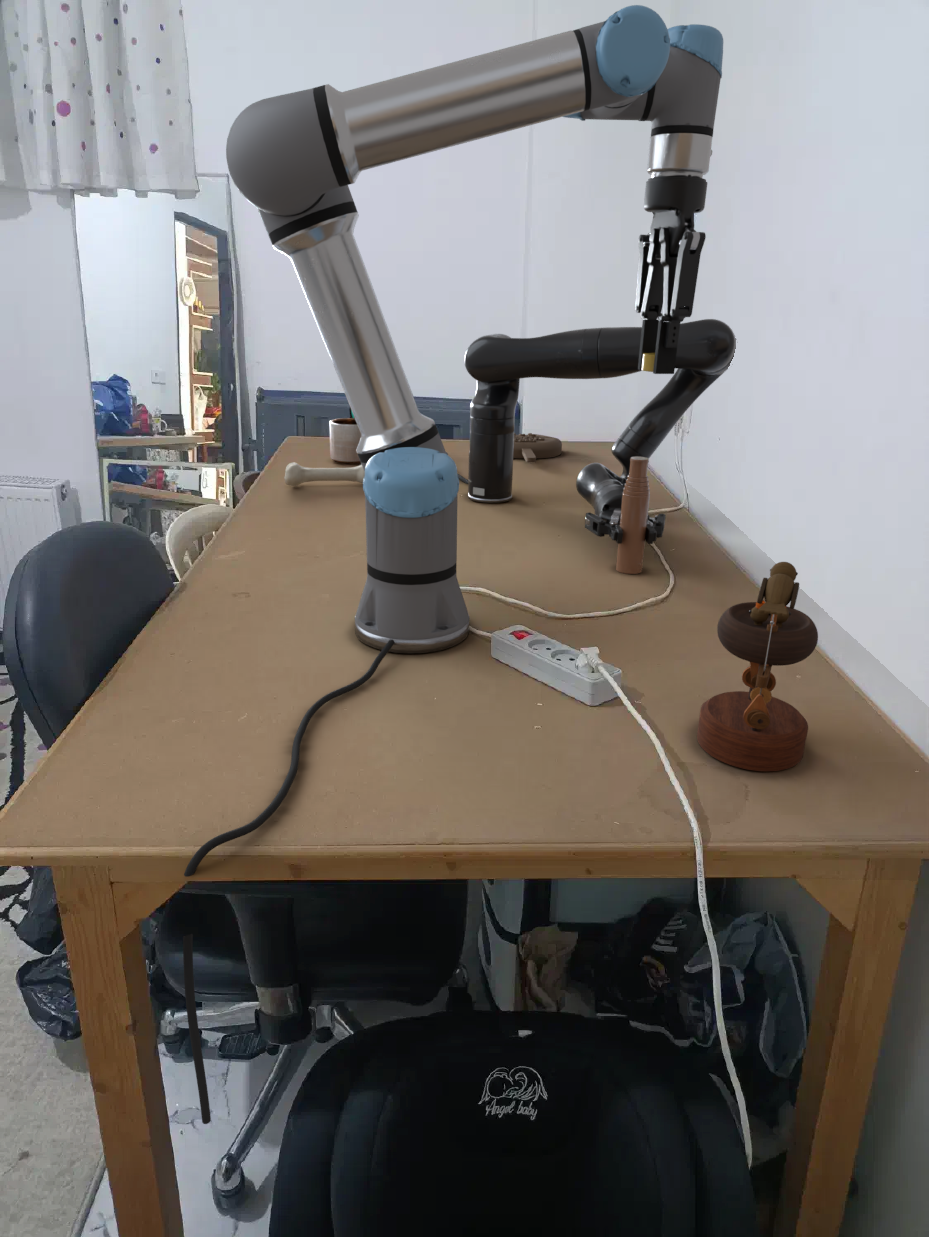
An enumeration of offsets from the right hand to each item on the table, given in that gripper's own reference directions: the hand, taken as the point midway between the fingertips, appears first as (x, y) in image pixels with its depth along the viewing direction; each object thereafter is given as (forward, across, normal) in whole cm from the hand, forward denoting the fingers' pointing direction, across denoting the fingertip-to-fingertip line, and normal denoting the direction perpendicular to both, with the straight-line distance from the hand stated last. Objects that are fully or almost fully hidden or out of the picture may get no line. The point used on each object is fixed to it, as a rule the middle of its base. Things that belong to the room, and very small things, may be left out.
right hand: (635, 537), depth 133 cm
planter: (-85, -55, +6) cm, 102 cm away
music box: (+52, +2, +6) cm, 52 cm away
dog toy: (-58, -56, +6) cm, 81 cm away
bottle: (-3, 0, +6) cm, 7 cm away
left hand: (+10, -2, -26) cm, 28 cm away
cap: (+10, -2, -28) cm, 30 cm away
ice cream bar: (-92, -11, +6) cm, 93 cm away
